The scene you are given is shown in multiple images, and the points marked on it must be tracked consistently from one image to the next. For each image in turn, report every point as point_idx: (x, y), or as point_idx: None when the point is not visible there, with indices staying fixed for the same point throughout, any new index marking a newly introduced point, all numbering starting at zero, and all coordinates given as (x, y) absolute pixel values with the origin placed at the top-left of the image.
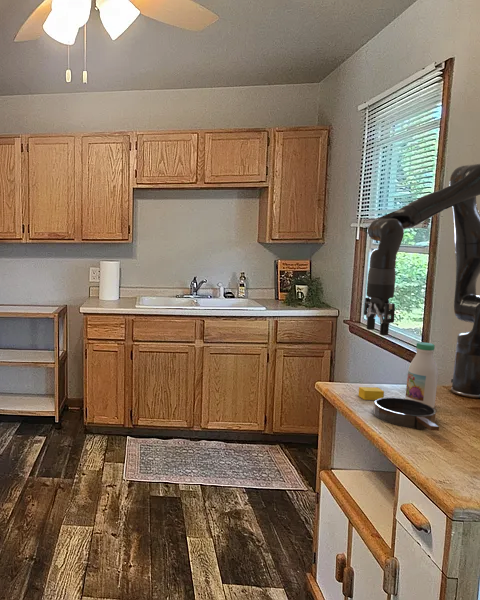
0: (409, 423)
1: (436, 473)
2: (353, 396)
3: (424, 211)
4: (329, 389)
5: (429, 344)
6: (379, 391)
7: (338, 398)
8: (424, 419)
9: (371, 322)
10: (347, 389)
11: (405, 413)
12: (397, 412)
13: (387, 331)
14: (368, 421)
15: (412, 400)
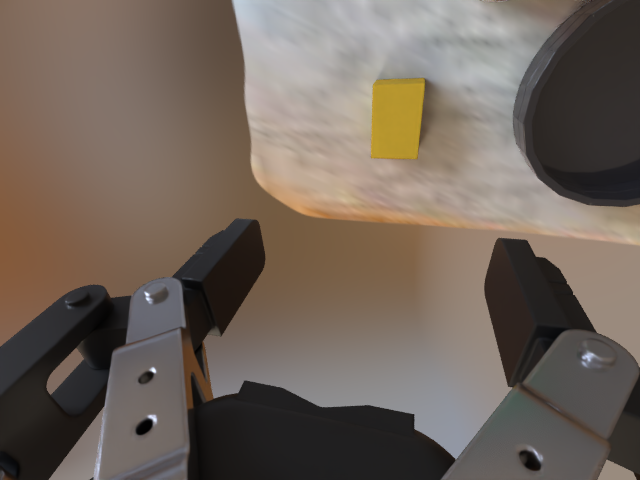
0: None
1: None
2: (381, 166)
3: None
4: (318, 207)
5: None
6: (422, 102)
7: (401, 218)
8: None
9: (233, 282)
10: (311, 153)
11: (606, 73)
12: (585, 102)
13: (561, 282)
14: (616, 229)
15: (594, 20)
